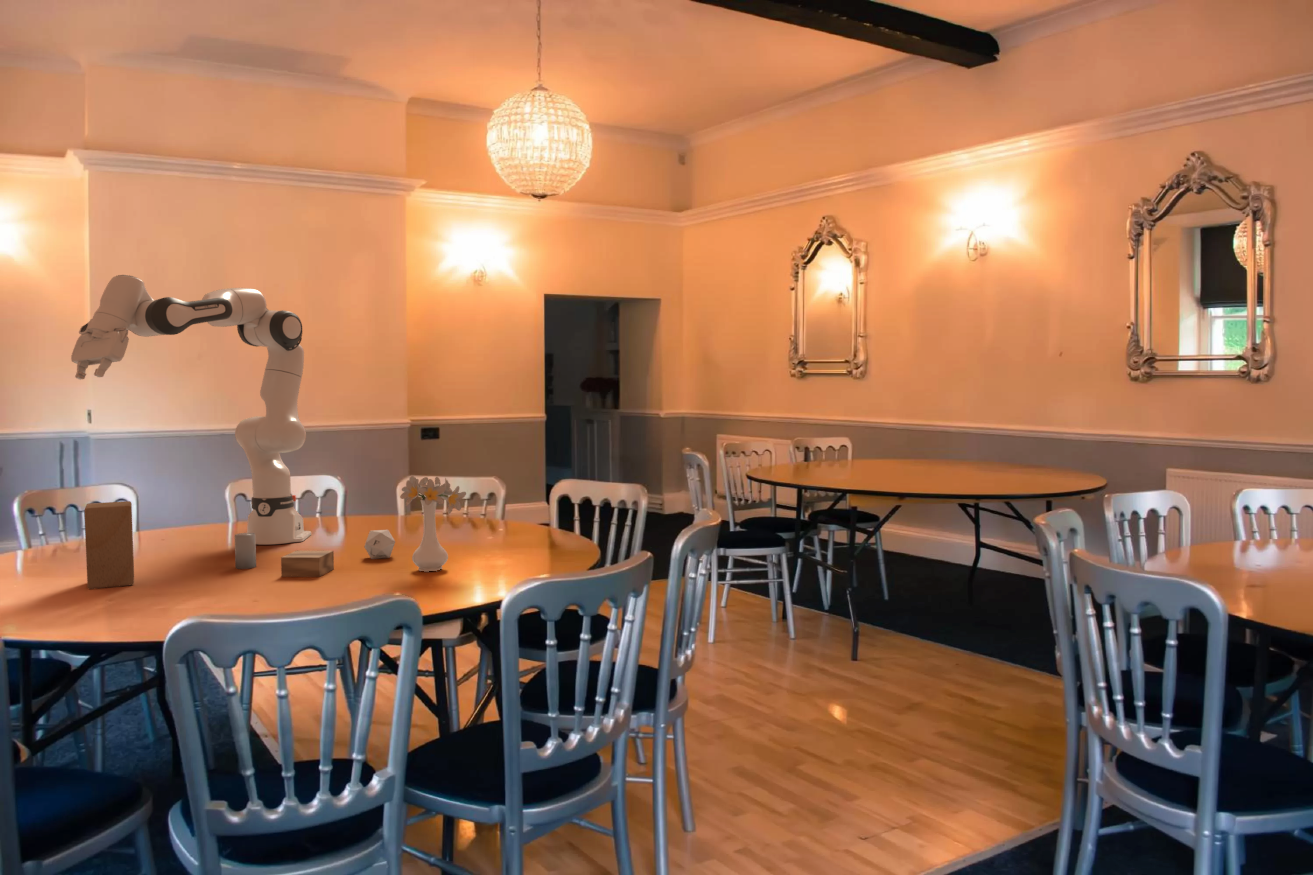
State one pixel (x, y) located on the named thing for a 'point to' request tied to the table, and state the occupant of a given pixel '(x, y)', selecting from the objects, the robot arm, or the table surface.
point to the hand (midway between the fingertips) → (88, 377)
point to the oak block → (307, 563)
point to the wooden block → (109, 544)
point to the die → (379, 544)
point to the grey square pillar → (245, 550)
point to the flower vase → (431, 518)
